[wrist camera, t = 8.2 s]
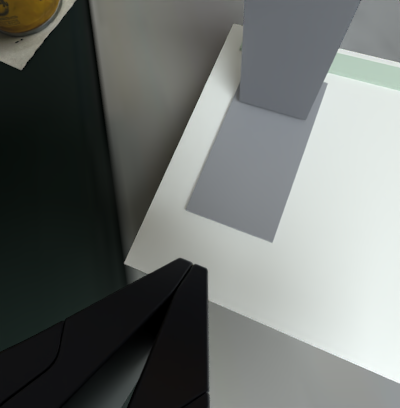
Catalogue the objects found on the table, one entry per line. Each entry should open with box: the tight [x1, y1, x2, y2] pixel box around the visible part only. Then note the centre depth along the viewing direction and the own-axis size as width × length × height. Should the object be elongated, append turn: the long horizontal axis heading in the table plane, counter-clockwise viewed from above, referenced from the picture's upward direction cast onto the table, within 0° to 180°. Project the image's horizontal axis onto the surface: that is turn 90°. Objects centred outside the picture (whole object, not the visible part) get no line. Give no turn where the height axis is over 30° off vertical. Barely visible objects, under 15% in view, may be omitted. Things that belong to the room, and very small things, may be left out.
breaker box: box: [124, 24, 400, 383], centre depth 15 cm, size 15×23×3 cm, turn 68°
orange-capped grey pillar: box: [239, 0, 361, 120], centre depth 11 cm, size 2×4×8 cm, turn 68°
